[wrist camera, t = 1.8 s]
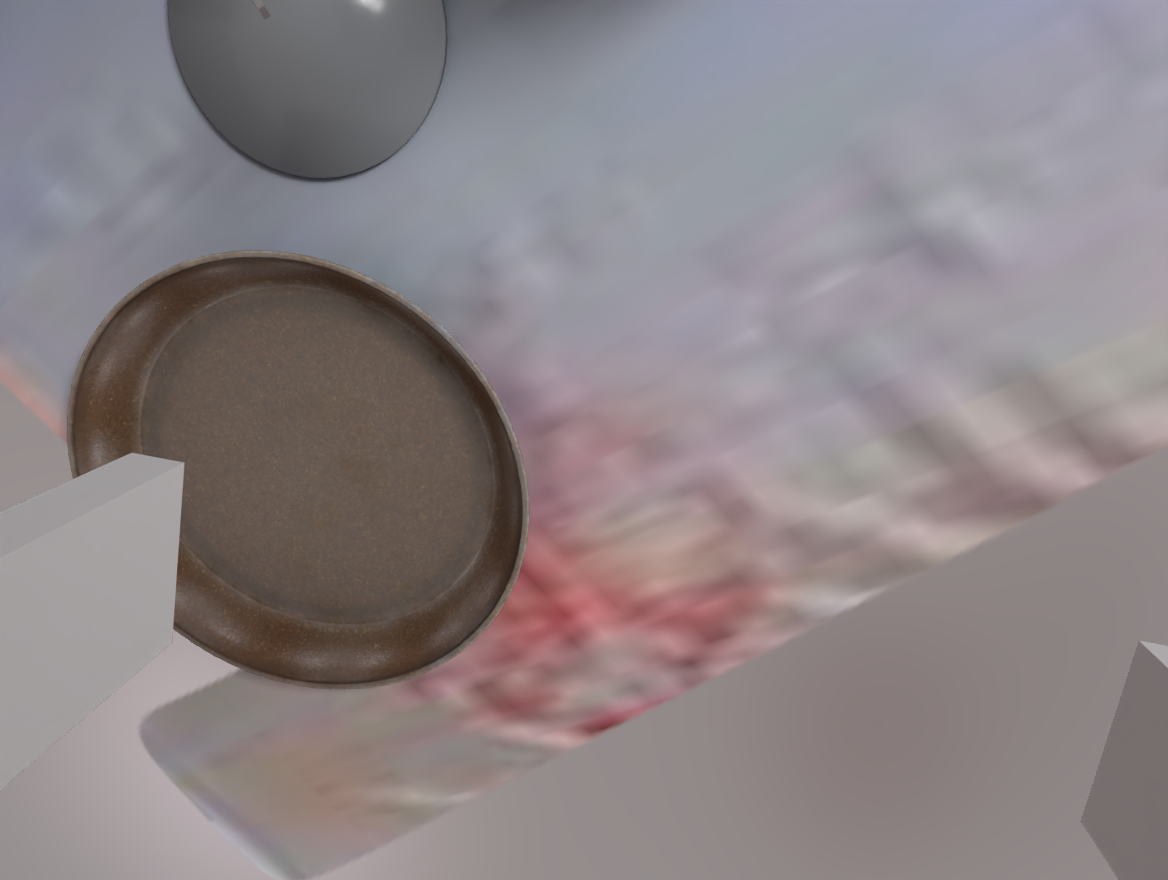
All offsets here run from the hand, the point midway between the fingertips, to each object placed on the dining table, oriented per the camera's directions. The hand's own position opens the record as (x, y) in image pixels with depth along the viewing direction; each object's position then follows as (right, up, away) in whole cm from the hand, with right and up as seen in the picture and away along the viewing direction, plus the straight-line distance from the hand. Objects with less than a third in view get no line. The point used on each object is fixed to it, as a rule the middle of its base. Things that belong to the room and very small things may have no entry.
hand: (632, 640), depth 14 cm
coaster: (-11, +18, +25) cm, 33 cm away
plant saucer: (-13, +2, +32) cm, 35 cm away
